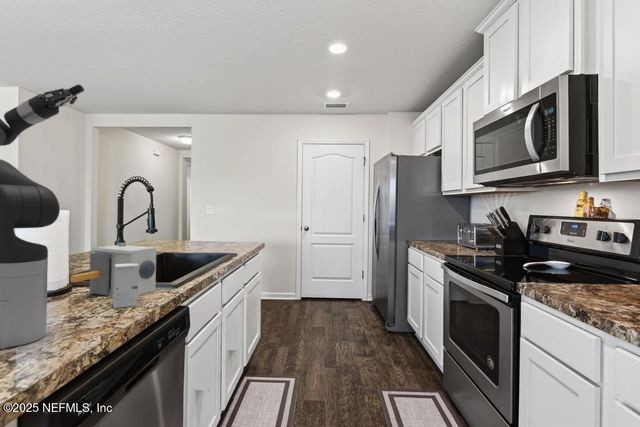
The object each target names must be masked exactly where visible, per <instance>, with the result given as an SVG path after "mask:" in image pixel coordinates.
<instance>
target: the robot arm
mask: <svg viewBox="0 0 640 427" xmlns="http://www.w3.org/2000/svg"><path fill="white" fill-rule="evenodd" d="M83 92H85V88H84V86H82V85H81V84H76V85H74V86H72V87H70V88H67V87H66V88H65V89H64V88H58V89H54V90H50V91H46V92H43V93H39V94H37V95H35V96H33V97H31V98H29V99H27V100H25V101H23V102H21V103H20V104H19V105H18V106H15V107H14V108H11V109H10V110H8V111H5V113H4V114H3V118H4V120H5V121H3V120H2V119H1V118H0V147H1V146H2V147H3V146H8V145H10V144H13V143H14V141H15V140H16V139H17V138H18V137H19V136H20V135H21V133H22V132H24V131H26V130H27V129H29V128H31V127H33V126H35V125H36V124H39V123H43V122H45V121H46V120H49V119H50V118H52V117H54V116H56V115H58V114H59V113H60V107H61V108H62V107H64V106H66V104H69V105H73V104H75V102H76V101H77V100H78V96H77V95H79V94H81V93H83ZM60 208H61V207H60V203H59V199H58V198H57V196H56V194H55V193H54V192H53V191H52V189H50V188H49V187H47V186H44V185H42V184H40V183H38V182H35V181H34V180H32V179H31V178H29V177H28V176H27V175H25V174H23V172H21V171H20V170H19V169H18V168H16V166H14V165H13V164H11V163H10V162H8V161H6V160H4V159H0V350H5V349H7V348H11V347H17V346H18V347H19V346H22V345H23V346H24V345H26V344H30V343H33V342H36V341H38V340H41V339H42V338H44V337H46V336H47V326H48V325H47V324H48V323H47V319H48V267H49V266H48V265H49V258H48V257H49V250H48V246H46V245H44V244H41V243H36V242H31V241H27V240H25V239H23V238H21V237H18V236H17V235H16V232H15V229H40V228H46V227H48V226H51V225H53V224H54V223H55V222H57V220H58V217H59V215H60Z"/></svg>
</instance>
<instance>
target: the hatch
mask: <svg viewBox="0 0 640 427" xmlns="http://www.w3.org/2000/svg"><path fill="white" fill-rule="evenodd" d="M89 255H90V258H89V260H90V261H89V272H83V273H77V274H73V275H70V276H69V277H70V281H69V282H70V283H78V282H82V281H88V280H89V294H94V295H101V296H108V295H109V261H110V254H101V253H94V252H90V254H89Z"/></svg>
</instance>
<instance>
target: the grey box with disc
mask: <svg viewBox="0 0 640 427" xmlns="http://www.w3.org/2000/svg"><path fill="white" fill-rule="evenodd" d="M91 253H101V254H110V261H109V295H107V296H110V297H114V275H115V264H131V263H138V265H139V270H138V290H137V297H138V296H142V295H146V294H149V293H152V292H155V291H156V278H157V277H156V272H157V247H152V246H142V245H140V246H139V245H129V244H127V243H126V242H118V244H117V245H105V246H97V247H94V248H93V249H92V250H91Z"/></svg>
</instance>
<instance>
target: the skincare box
mask: <svg viewBox="0 0 640 427" xmlns="http://www.w3.org/2000/svg"><path fill="white" fill-rule="evenodd" d="M138 270H139V265H138V263H131V264H115V275H114V296H112V297H113V300H112V308H113V309H116V308H129V307H136V306H137V304H138V296H137V290H138Z"/></svg>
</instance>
